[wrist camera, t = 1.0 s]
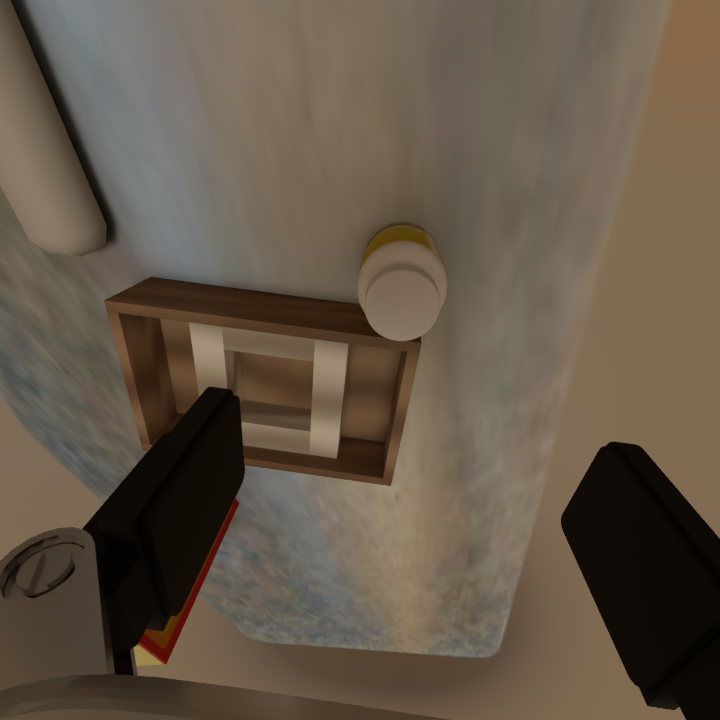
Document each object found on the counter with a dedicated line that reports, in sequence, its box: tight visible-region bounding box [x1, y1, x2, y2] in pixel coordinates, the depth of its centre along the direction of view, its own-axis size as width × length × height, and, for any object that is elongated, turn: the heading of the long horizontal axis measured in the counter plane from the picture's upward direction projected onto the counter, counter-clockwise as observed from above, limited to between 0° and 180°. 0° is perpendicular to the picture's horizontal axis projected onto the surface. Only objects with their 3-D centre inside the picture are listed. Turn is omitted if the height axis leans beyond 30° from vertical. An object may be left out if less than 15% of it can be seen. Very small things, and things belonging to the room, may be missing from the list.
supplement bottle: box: [357, 223, 448, 341], centre depth 23 cm, size 5×5×10 cm
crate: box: [104, 277, 421, 486], centre depth 31 cm, size 14×22×6 cm, turn 84°
